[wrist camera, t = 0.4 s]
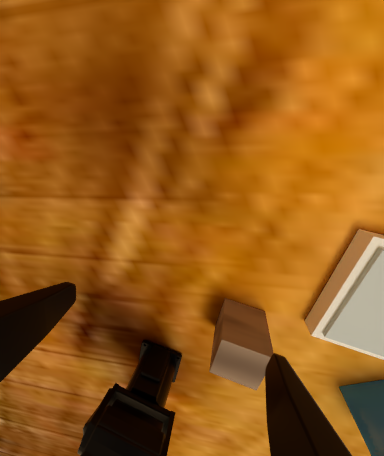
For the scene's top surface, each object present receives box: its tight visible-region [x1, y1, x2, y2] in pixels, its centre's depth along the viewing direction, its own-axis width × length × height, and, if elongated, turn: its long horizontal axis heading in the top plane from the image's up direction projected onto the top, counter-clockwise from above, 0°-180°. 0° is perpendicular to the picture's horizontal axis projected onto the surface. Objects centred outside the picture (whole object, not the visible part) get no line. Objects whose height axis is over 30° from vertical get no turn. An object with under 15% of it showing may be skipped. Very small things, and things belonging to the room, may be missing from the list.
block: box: [210, 298, 273, 390], centre depth 21 cm, size 5×5×6 cm
